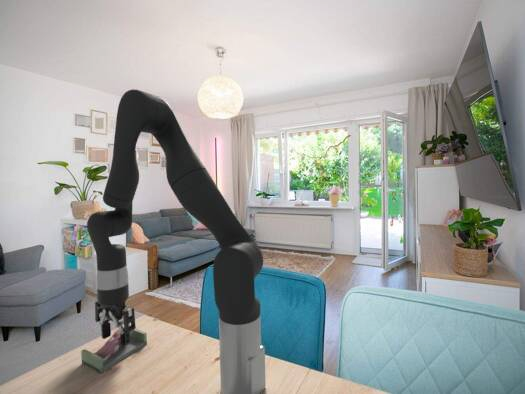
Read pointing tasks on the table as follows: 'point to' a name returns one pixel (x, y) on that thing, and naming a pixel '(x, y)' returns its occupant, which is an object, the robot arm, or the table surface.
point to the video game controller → (111, 345)
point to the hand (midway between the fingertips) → (115, 341)
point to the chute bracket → (100, 364)
